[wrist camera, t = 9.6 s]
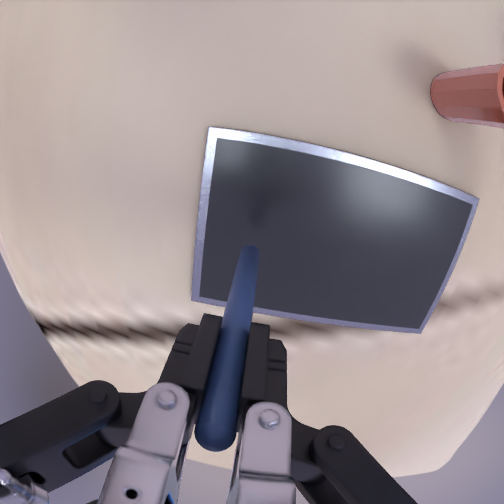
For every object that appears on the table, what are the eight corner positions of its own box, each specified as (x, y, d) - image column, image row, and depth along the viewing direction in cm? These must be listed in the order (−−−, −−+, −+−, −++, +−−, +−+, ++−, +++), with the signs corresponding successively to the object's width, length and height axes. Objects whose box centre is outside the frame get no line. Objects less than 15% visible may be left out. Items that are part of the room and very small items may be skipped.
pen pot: (426, 110, 16) (494, 113, 9) (433, 65, 15) (498, 51, 7) (464, 128, 16) (532, 141, 9) (470, 85, 15) (537, 85, 7)
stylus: (240, 257, 18) (190, 452, 7) (242, 240, 18) (190, 436, 6) (258, 260, 18) (231, 460, 7) (262, 243, 18) (236, 445, 6)
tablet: (193, 296, 24) (190, 301, 24) (210, 126, 18) (208, 126, 18) (418, 329, 24) (421, 334, 24) (475, 196, 18) (480, 199, 18)
